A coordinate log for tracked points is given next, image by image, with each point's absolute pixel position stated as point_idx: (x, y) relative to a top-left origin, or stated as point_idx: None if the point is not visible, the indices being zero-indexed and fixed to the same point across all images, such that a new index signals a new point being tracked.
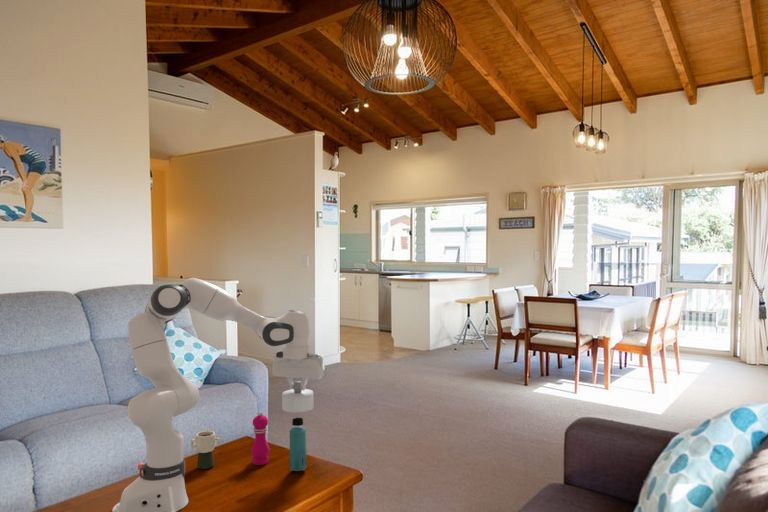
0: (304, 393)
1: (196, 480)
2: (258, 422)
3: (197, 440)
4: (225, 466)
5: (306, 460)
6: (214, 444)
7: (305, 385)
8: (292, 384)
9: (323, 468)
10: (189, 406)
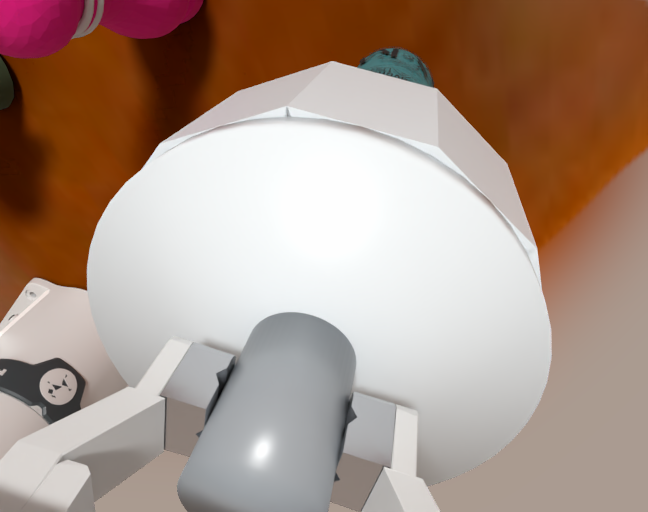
0: (413, 403)
1: (50, 192)
2: (27, 57)
3: None
4: (52, 54)
5: (432, 80)
6: None
7: (416, 468)
8: (165, 431)
9: (523, 30)
10: None
